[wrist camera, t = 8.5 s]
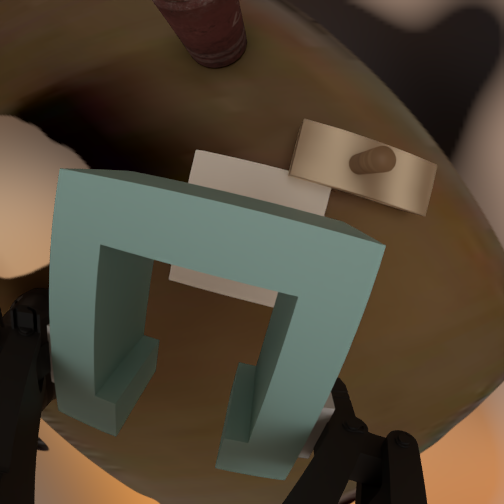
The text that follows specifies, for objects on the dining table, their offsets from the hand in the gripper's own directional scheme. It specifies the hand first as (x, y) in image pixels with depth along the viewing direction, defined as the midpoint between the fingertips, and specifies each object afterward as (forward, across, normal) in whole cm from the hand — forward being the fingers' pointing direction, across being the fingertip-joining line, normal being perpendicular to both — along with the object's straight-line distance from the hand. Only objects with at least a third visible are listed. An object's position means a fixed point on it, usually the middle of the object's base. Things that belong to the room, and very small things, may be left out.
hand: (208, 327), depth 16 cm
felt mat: (+17, 0, +2) cm, 17 cm away
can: (+17, -8, +22) cm, 29 cm away
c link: (-2, 0, +2) cm, 3 cm away
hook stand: (+17, +9, +11) cm, 23 cm away
